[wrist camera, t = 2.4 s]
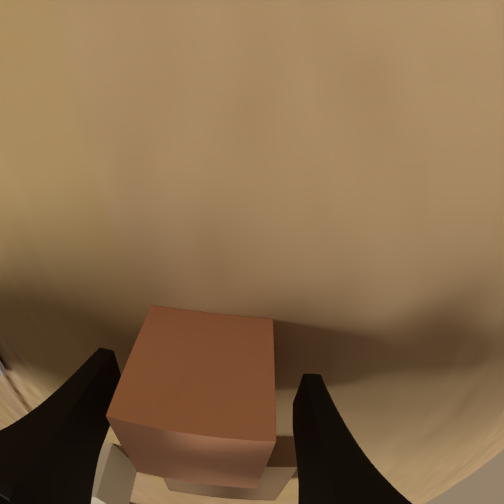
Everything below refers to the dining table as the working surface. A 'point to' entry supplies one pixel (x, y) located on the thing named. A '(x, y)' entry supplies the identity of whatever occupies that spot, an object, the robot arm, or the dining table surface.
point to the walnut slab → (269, 485)
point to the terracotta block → (198, 398)
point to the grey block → (113, 477)
